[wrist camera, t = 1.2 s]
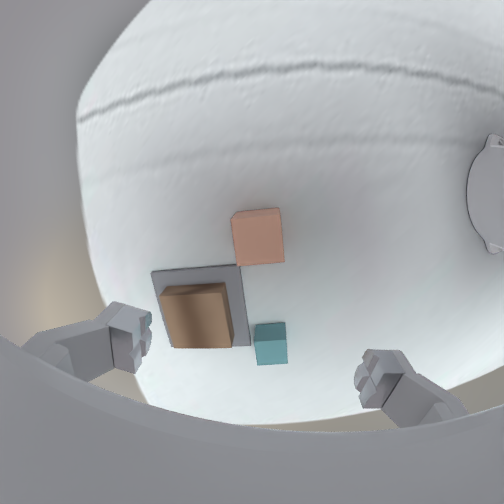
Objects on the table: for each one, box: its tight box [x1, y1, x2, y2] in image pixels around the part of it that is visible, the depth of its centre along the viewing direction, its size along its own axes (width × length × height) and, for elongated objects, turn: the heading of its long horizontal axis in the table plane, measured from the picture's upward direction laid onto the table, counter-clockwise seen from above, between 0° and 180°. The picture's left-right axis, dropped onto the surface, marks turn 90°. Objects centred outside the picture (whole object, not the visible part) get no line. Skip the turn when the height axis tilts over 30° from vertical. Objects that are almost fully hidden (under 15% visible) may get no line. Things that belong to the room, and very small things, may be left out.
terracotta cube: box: [231, 208, 285, 266], centre depth 30 cm, size 5×5×5 cm
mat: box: [151, 265, 251, 347], centre depth 36 cm, size 12×12×1 cm
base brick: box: [159, 282, 235, 348], centre depth 35 cm, size 8×8×3 cm
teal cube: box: [254, 323, 288, 365], centre depth 35 cm, size 4×4×4 cm
